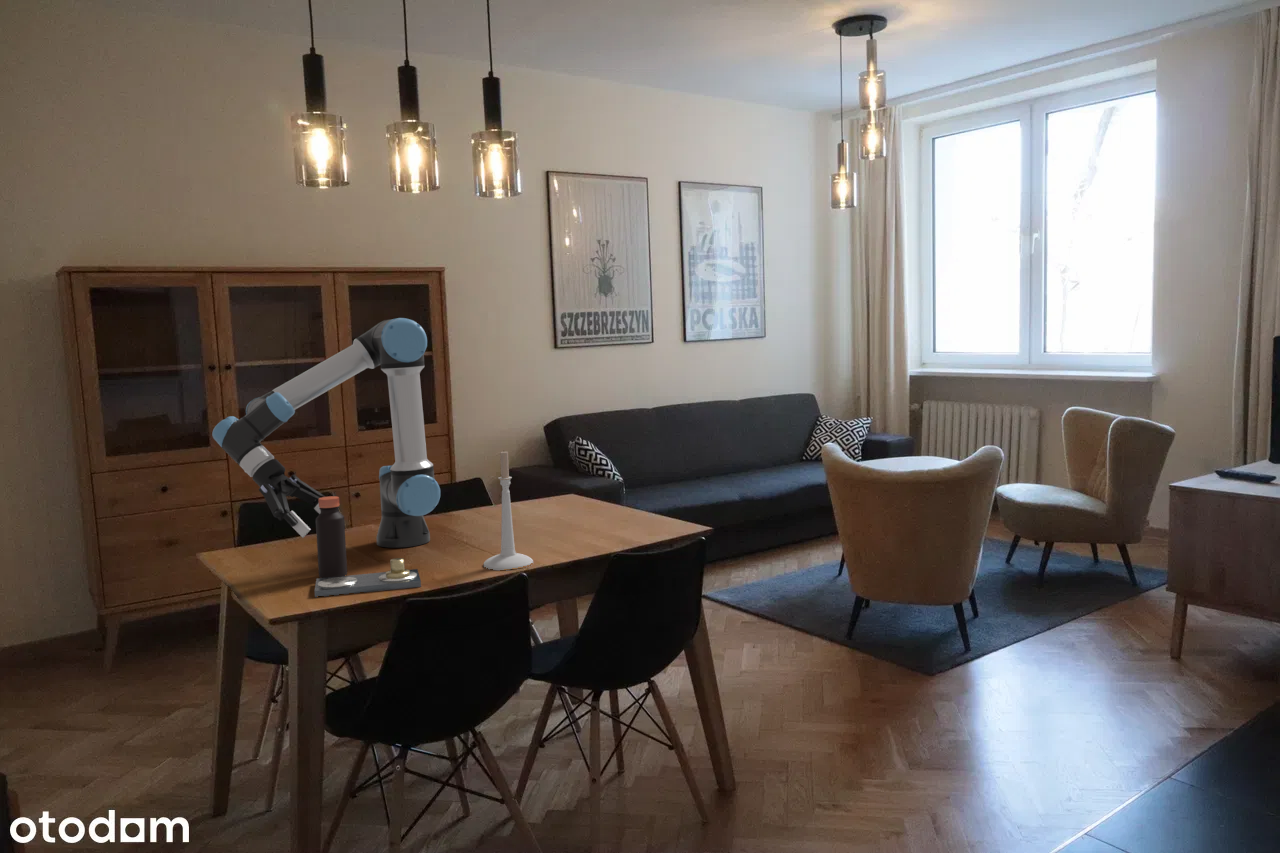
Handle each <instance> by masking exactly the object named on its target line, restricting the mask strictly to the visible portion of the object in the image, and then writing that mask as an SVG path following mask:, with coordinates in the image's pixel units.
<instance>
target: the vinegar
mask: <svg viewBox="0 0 1280 853" xmlns="http://www.w3.org/2000/svg"><path fill="white" fill-rule="evenodd" d="M318 500H319V509H320V511H321V513H320V514H319V513H318V515H317V516H316V518H315V531H316V548H317V565H318V577H319V578H328V577H338V576H345V575H346V576H348V563H347V559H348V558H347V543H346V527H345V516H344V514H342V513H341V512H340V511H339V508H340V497H339V496H335V495H333V496H332V495H331V496H324V497H322V498H319V499H318Z"/></svg>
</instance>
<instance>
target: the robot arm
mask: <svg viewBox="0 0 1280 853" xmlns="http://www.w3.org/2000/svg"><path fill="white" fill-rule="evenodd" d="M427 347H428V337H427V334H426V332H425V329H424V328H423V327H422V325H420V324H419V323H417V321H415V320H413V319H409V318H405V317H398V318H393V319H391V318H390V319H384V320H382V321H380V322H378V323H377V324H375V325H374V326H372V327H371V328H370V329H369V330H367V331H366V332H364V333H362V334H361V335H360V336H358V337H356V338H355V339H354V340H353V341H352V344H351V345H349V346H348V347H346V348H344V349H342V350H340V351H339V352H338V353H335V354H334V355H332V356H330V357H329V358H327V359H325V360H324V361H321V362H320V363H318V364H316V365H314V366H313V367H311V368H309V369H308V370H306V371H304V372H302V373H300V374H299V375H297V376H295V377H293V378H291V379H289V380H288V381H286V382H284V383H283V384H281V385H279V386H277V387H275V388H274V389H272V390H270V391H269V392H267V393H265V394H263V395H262V396H259V397H255V398H253V399H252V400H251V401H249V402H248V403H247V405H246V407H245V415H244V416H242V417H240V419H239V418H237V417H236V416H233V415H232V416H231V415H230V416H227V417H226V418H225V419H222V420H220V421H219V422H218V423H217V424H216V425H215V426H214V428H213V430H212V434H211V435H212V438H213V440H214V441H215V442H216V443H217V444H218V445H219V446H220V447H221V448H222V450H223V451H225V453H226V454H227V455H228V456H229V457H230V458H231V459H232V460H234V462H235V463H236V464H237V465H238V466H239V467H240V468H241V469H242V470H243V471H244V473H246V474H247V475H248V476H249V477H250V478H252V480H253V482H254V483H255V484H257V486H258V487H259V489H258V491H259V493H261V495H262V496H263V498H264V499H265V501H266V504H267V506H268V508H269V509H270V511H271V514H272V516H273V517H274V518H276V519H278V521H280V522H281V521H283V520H285V521H286V522H287V523H288V524H289V526H290V527H292V528H293V530H295V531H296V533H297V534H298V535H300V537H302V539H303V538H305V536H307V535H308V533H310V531H311V530H312V529H311V528H310V526H308V524H306V523H305V522H304V521H303V519H301V517H300V516H298V515H297V513H296V512H295V511H294V510H291V511H290V508H289V503H288V498H287V497H290V498H293V497H295V498H297V499H299V500H301V501H302V502H305V503H307V504H309V505H311V506H313V509H314V510H315V512H316V513H318V515H319V514H320V513H321V511H320V509H319V500H318V499H319V498H322V497H325V495H324V494H322V493H321V492H320V491H318V490H316V489H314V487H311V486H310V485H309V484H307V483H306V482H305V481H302V479H300V478H299V477H298V476H297V475H295V474H292V475H291V476H290V477H288V476H287V475H286V474H285V473H286V467H285V466H284V465H283V464H282V463H281V462H279V460H278V459H277V458H275V456H274V455H273V454H272V453H271V452H270V451H269V450H268V449H267V448H266V447H265V446H264V444H262V443H261V442H262V441H264V440H265V439H266V437H267V438H268V436H270V435H271V434H272V433H273V432H274V431H275V430H277V429H278V428H279V427H280V426H282V425H284V423H287V422H288V420H289V419H290V418H292V417H293V416H294V415H295V413H296V410H297V409H299V408H300V407H302V406H304V405H306V404H307V403H309V402H311V401H312V400H314V399H316V398H318V397H319V396H321V395H323V394H324V393H326V392H329V391H330V390H331V389H334V388H335V387H337V386H338V385H340V384H342V383H344V382H345V381H347V380H349V379H351V378H352V377H354V376H356V375H357V374H360V373H361V372H363V371H365V370H366V369H371V370H372V369H374V370H375V368H377V367H379V366H380V370H381V371H382V372H383V373H384V374H386V377H387V387H388V397H389V405H390V408H389V409H390V418H391V426H392V427H391V429H392V430H391V431H392V439H393V450H394V451H393V452H394V460H395V462H394V463H393V464H392V465H383V466H381V467H380V468H379V473H378V474H379V475H378V479H379V493H380V510H381V512H380V513H381V520H380V523H379V526H378V530H377V534H376V545H377V546H378V547H380V548H381V547H383V548H389V549H390V548H392V549H393V548H397V549H398V548H409V547H416V546H420V545H425V544H427V543H429V542H430V541H431V533H430V531H429V527H428V525H427V522H426V520H425V515H427V514H429V513H431V512H432V511H433V510H434V509H435V508H436V506H437V505H439V502H440V498H441V488H440V485H439V483H438V481H436V479H435V470H434V463H433V462H431V461H430V460H429V459H428V456H427V454H428V452H427V444H426V432H425V420H424V419H425V418H424V410H423V409H424V408H423V399H422V398H423V397H422V388H421V387H422V386H421V385H422V384H421V376H420V374H421V372H422V370H423V369H424V368H425V356H424V355H425V352H426V350H427Z"/></svg>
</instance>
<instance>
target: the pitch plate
mask: <svg viewBox="0 0 1280 853" xmlns="http://www.w3.org/2000/svg"><path fill="white" fill-rule="evenodd" d="M315 580H316V581H315V584H314V585H315V586H314V598H318V597H317V596H324V597H330V596H329V595H334V596H340V595H339V594H344V595H350V594H349V593H354V594H361V593H360V592H364V593H373V592H382V591H393V590H394V591H395V590H401V589H402V590H403V589H413V588H420V587H422V581H421V577H420V574H419V570H418V568H415V569H414V568H413V569H407V568H405V559H404V558H400V557H397V558H392V559H390V570H388V571H383V572H381V571H380V572H374V573H371V572H370V573H362V574H360V573H359V574H352V575H351V574H350V575H346V576H338V577H328V578H320V577H319V578H316V579H315Z"/></svg>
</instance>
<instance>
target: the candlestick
mask: <svg viewBox="0 0 1280 853" xmlns="http://www.w3.org/2000/svg"><path fill="white" fill-rule="evenodd" d="M499 453H500V457H499V458H500V477H497V478H498V480H499V481H500V483H499V484H500V486H501V488H502V491H501V528H500V529H501V535H500V536H501V541H500V542H501V543H500V545H501V546H500V553H499V554H495V555H493V556H491V557H489V558H487V559H485V561H484V562H483V567H484V568H485V567H486V568H485V569H487V568H488V569H487V570H490V569H493V570H492V571H500V570H504V569H512V568H518V567H523V566H527V565H530V564H531V563H533V564H534V560H533V559H532V558H531V557H530V556H528V555H526V554H523V553H518V552H517V551H516V549H515V547H516V546H515V538H514V537H515V536H514V529H513V528H514V526H513V516H512V515H513V514H512V506H511V505H512V504H511V494H510V489H509V488H510V485H511V479H512V478H513V477H512V476H510V471H509V470H510V469H509V451H501V452H499Z"/></svg>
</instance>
